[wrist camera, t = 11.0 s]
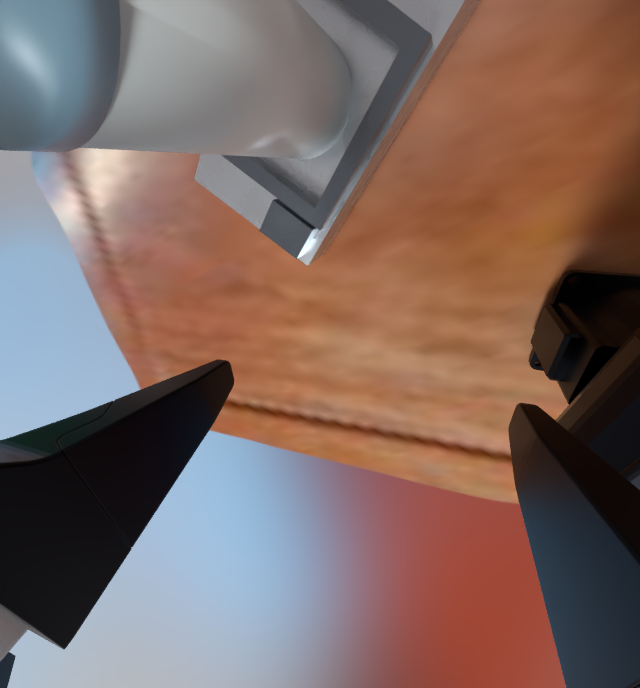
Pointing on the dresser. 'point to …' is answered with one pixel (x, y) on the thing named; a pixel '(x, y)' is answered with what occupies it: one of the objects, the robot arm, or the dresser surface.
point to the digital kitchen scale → (360, 130)
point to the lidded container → (170, 77)
